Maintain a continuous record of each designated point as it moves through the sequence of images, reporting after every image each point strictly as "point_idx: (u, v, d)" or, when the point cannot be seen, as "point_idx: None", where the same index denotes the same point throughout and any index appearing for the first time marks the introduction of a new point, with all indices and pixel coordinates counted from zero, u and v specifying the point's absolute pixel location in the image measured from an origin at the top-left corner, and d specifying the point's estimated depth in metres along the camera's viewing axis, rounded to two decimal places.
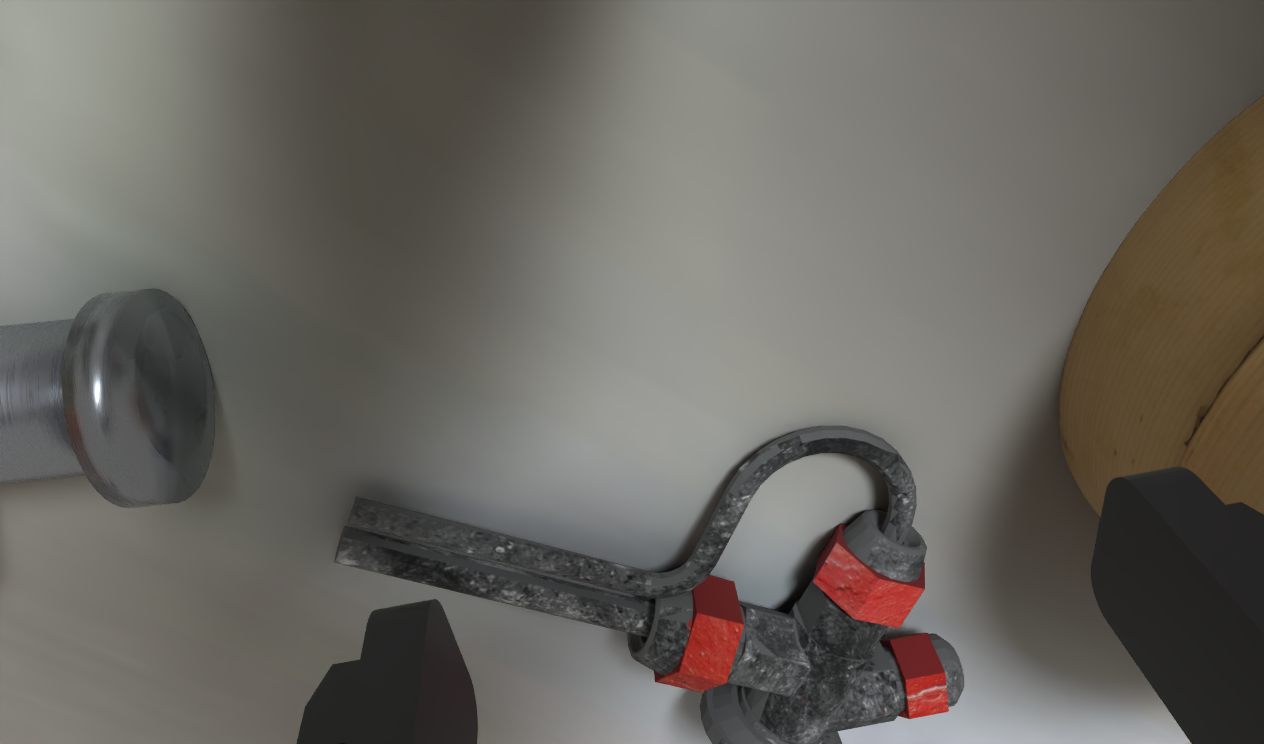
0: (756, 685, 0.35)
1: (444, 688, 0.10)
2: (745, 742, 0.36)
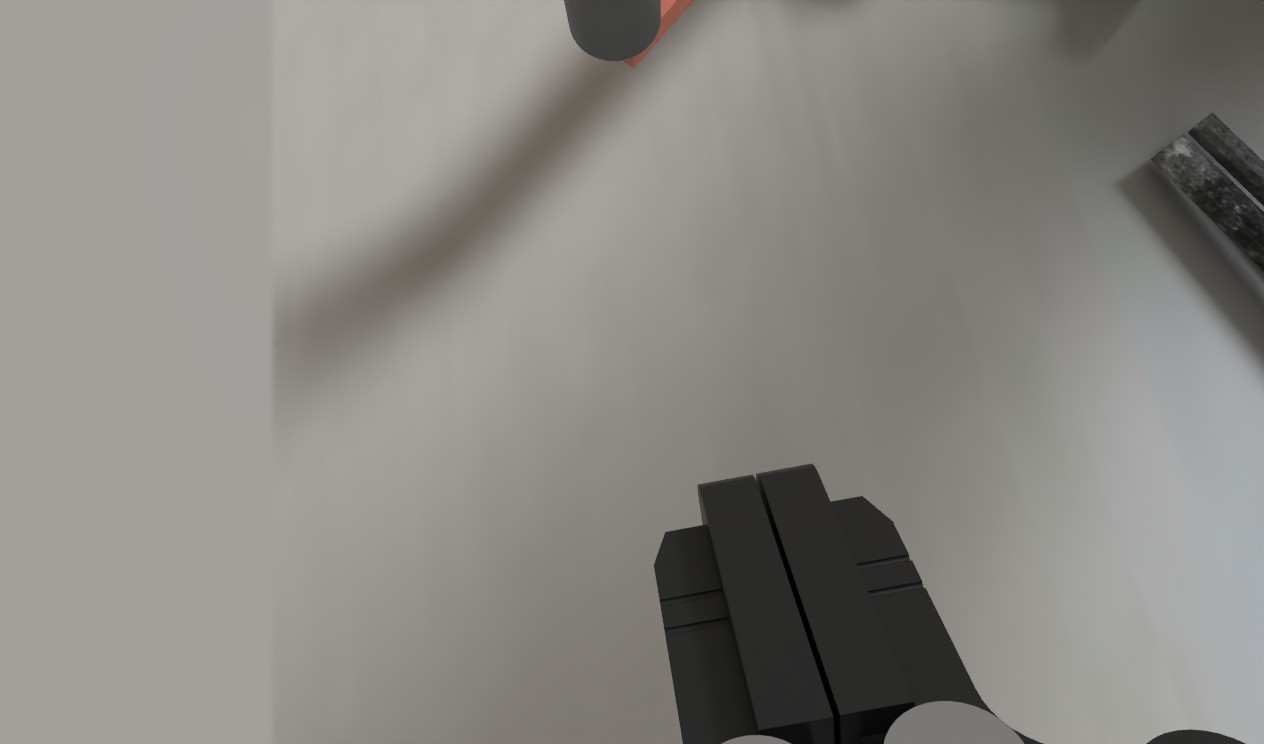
0: None
1: None
2: None
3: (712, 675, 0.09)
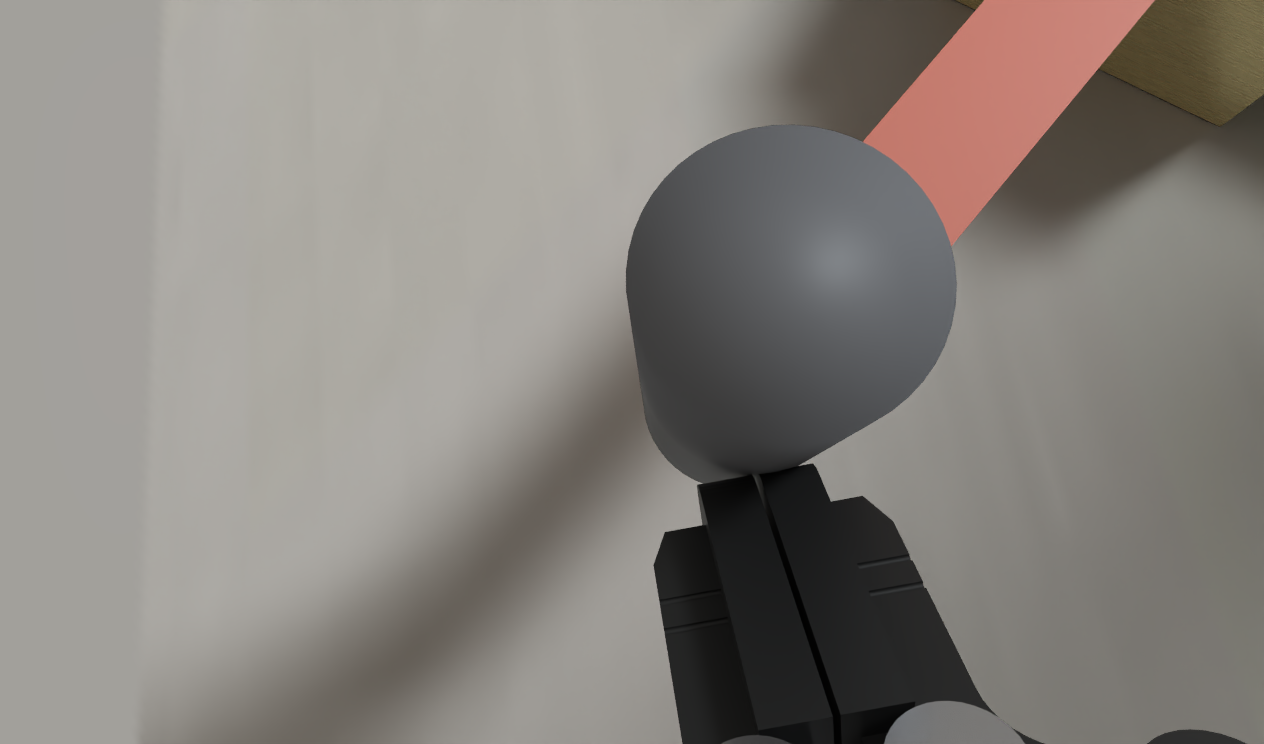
0: None
1: None
2: None
3: (710, 674, 0.09)
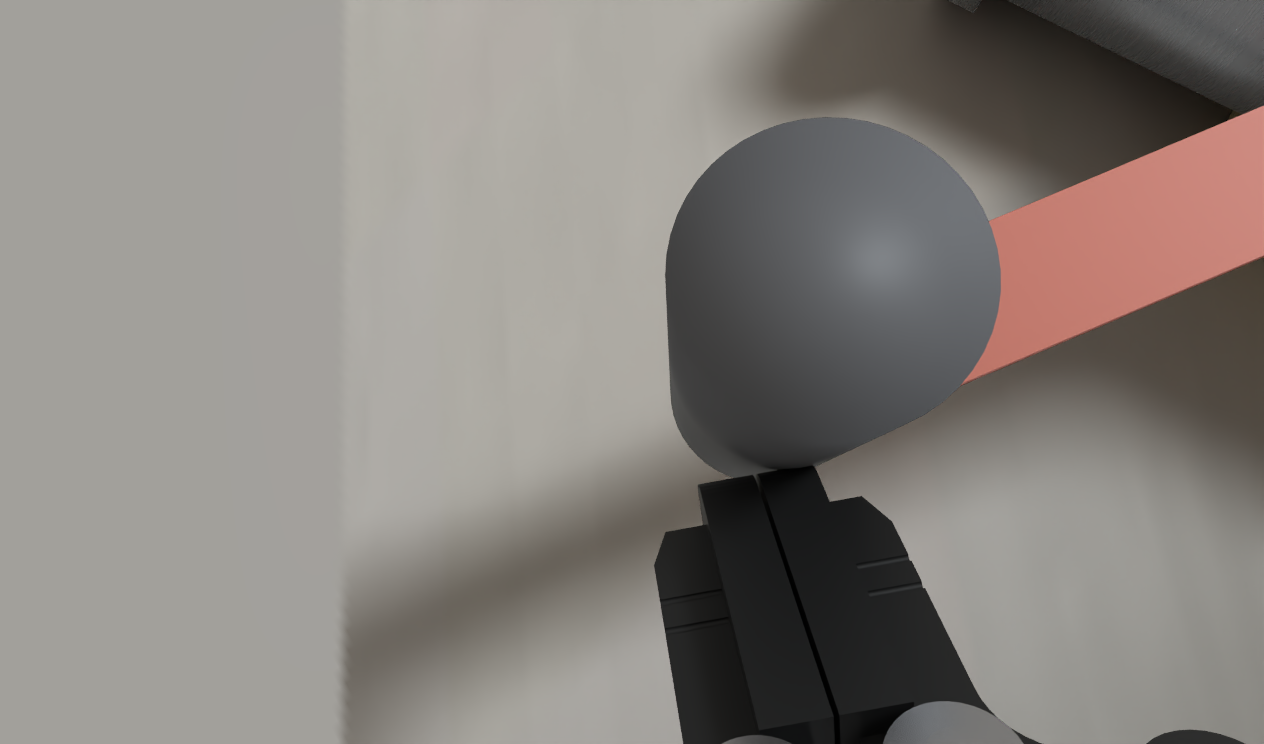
0: None
1: None
2: None
3: (712, 676, 0.09)
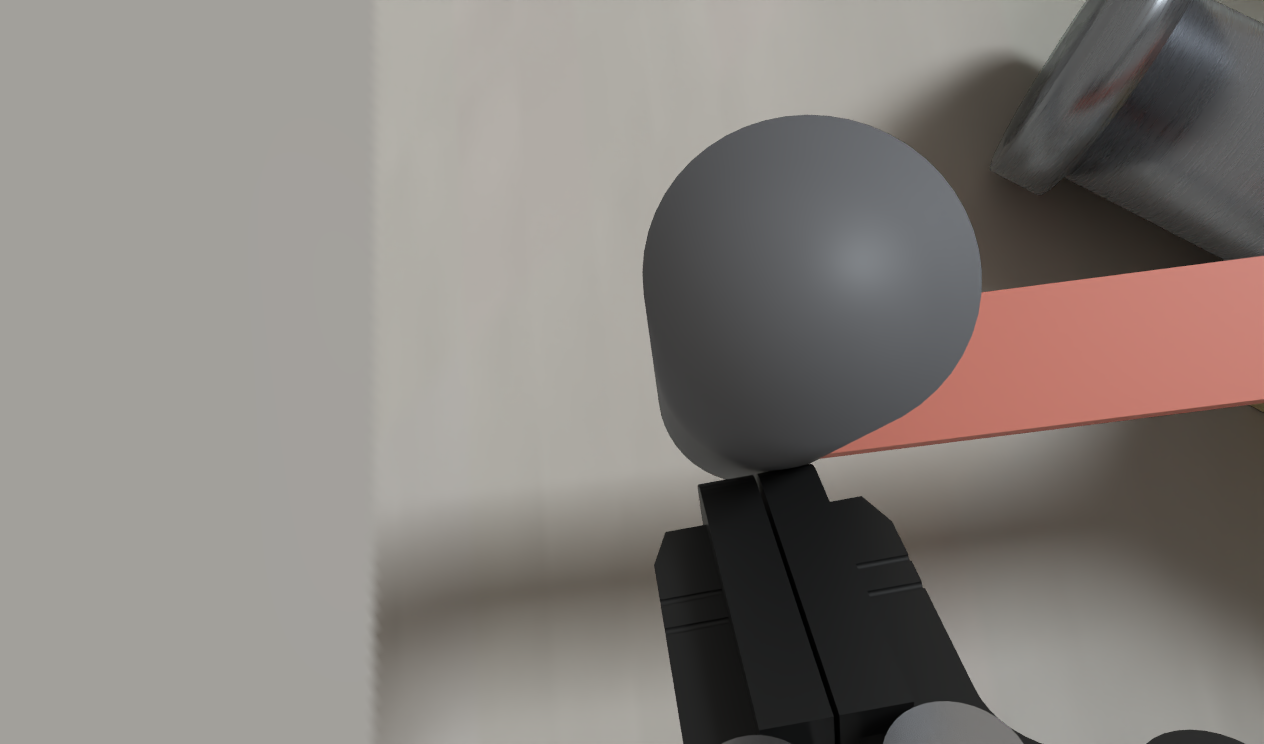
0: None
1: None
2: None
3: (712, 676, 0.09)
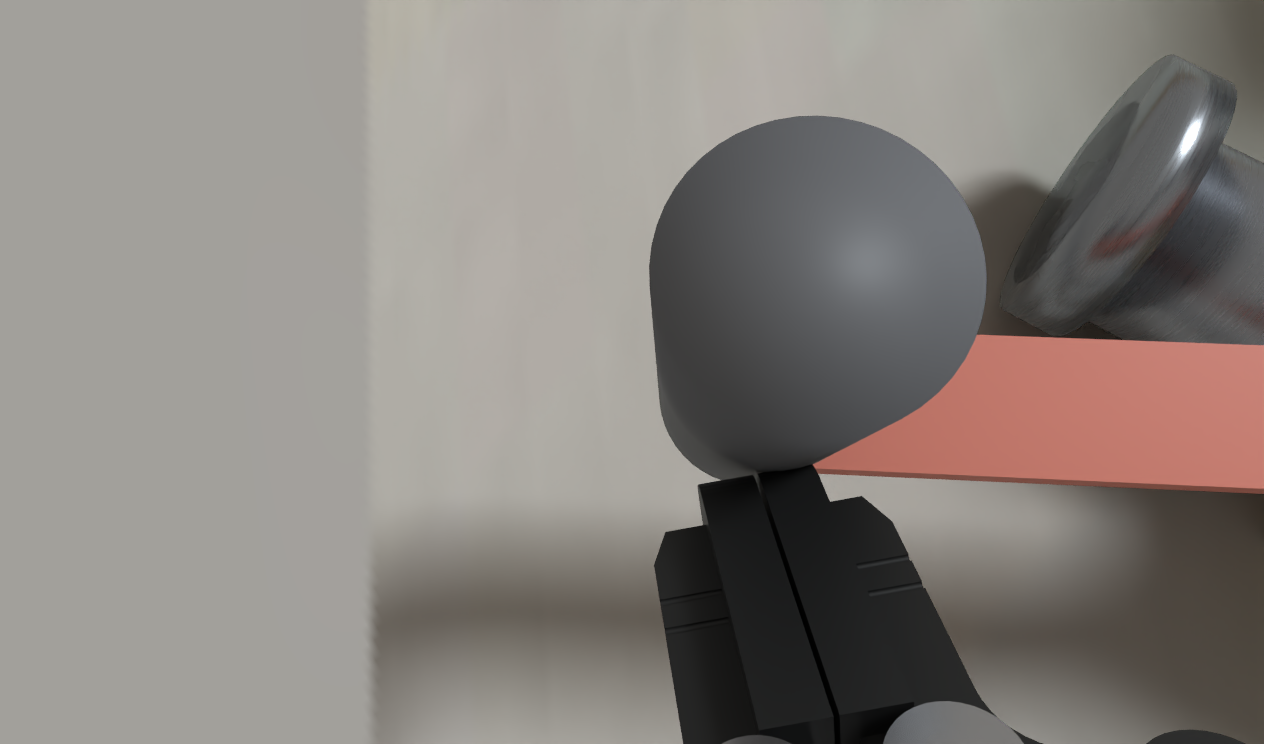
0: None
1: None
2: None
3: (712, 675, 0.09)
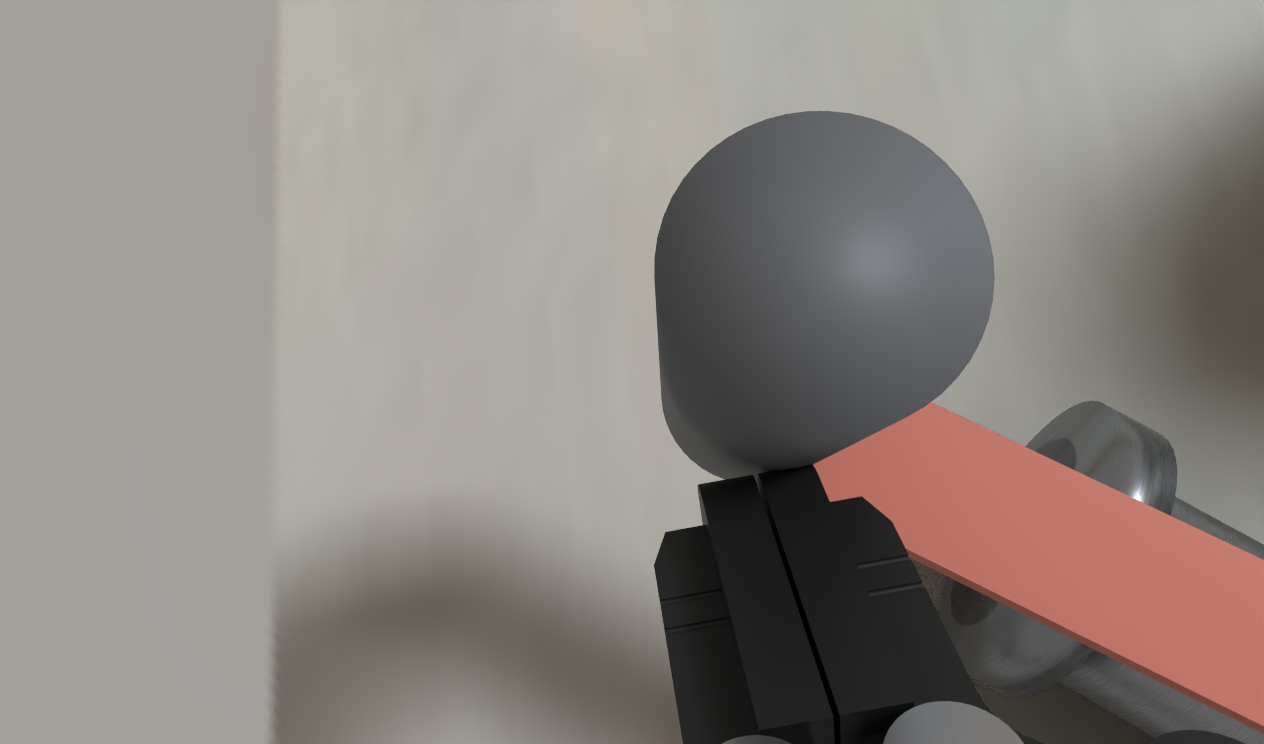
0: None
1: None
2: None
3: (712, 675, 0.09)
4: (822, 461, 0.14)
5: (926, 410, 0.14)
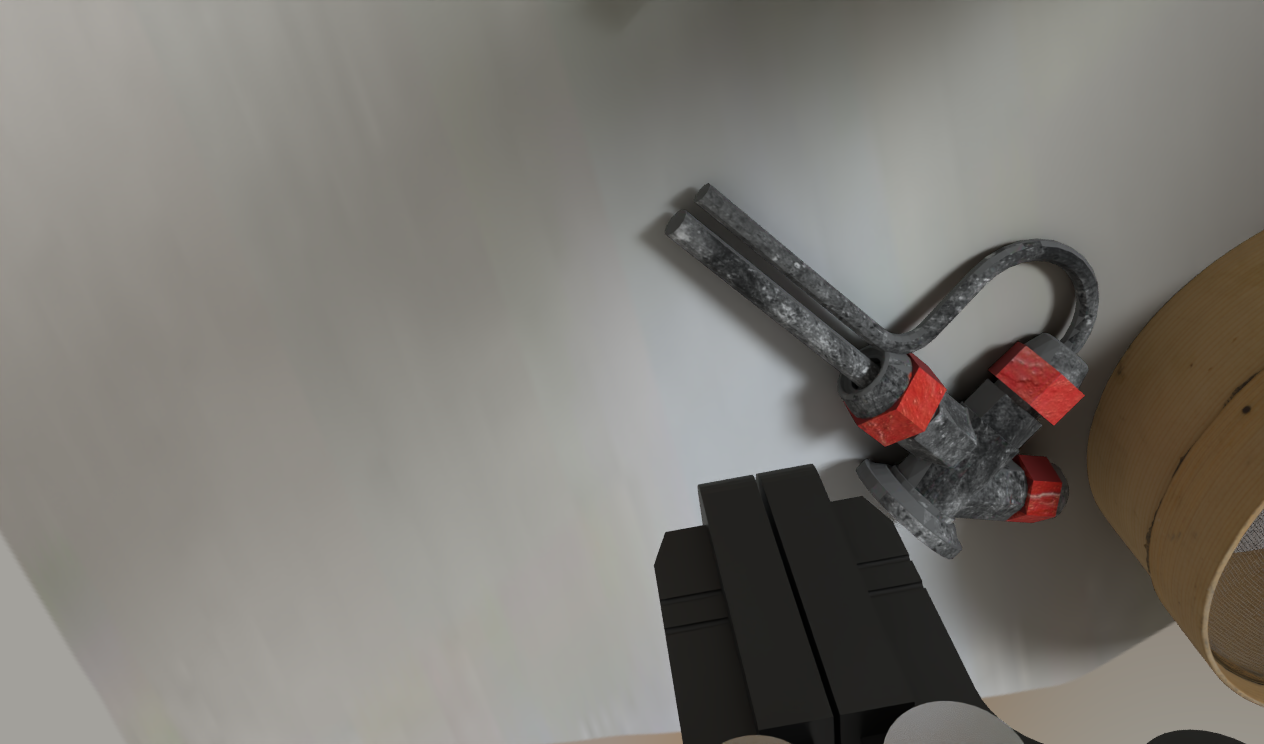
0: (933, 448, 0.42)
1: None
2: (905, 499, 0.43)
3: (712, 676, 0.09)
4: None
5: None
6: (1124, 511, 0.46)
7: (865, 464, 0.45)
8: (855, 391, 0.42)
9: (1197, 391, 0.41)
